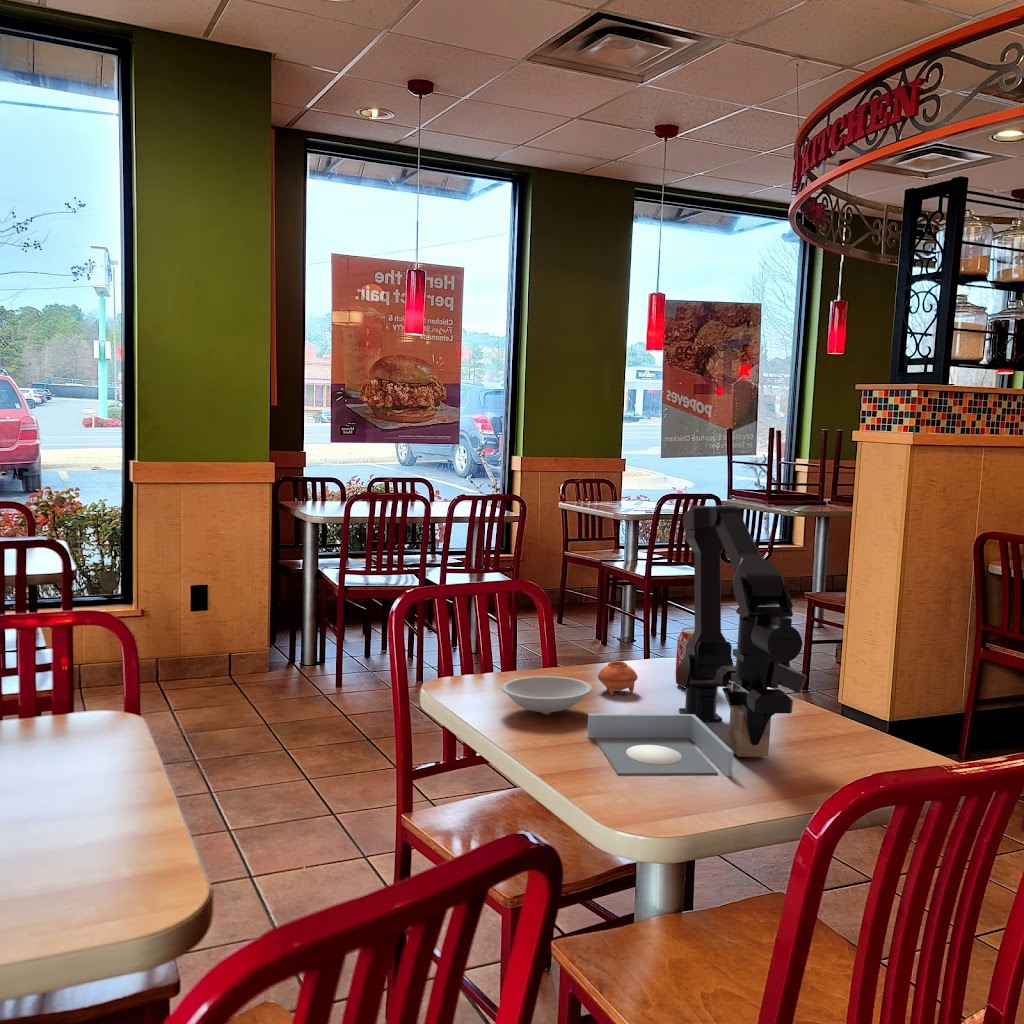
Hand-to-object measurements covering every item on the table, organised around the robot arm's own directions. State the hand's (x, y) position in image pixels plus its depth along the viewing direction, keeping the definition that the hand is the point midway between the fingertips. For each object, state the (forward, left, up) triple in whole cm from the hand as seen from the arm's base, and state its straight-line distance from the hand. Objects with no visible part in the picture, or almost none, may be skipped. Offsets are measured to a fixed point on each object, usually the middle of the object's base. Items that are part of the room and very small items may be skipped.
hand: (748, 739), depth 158 cm
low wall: (0, -16, -3) cm, 16 cm away
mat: (0, -16, -3) cm, 16 cm away
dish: (-23, -30, -3) cm, 38 cm away
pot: (-37, -13, -3) cm, 39 cm away
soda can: (-41, +4, -3) cm, 41 cm away
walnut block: (0, 0, -2) cm, 2 cm away
